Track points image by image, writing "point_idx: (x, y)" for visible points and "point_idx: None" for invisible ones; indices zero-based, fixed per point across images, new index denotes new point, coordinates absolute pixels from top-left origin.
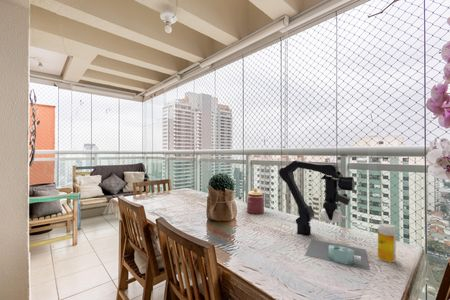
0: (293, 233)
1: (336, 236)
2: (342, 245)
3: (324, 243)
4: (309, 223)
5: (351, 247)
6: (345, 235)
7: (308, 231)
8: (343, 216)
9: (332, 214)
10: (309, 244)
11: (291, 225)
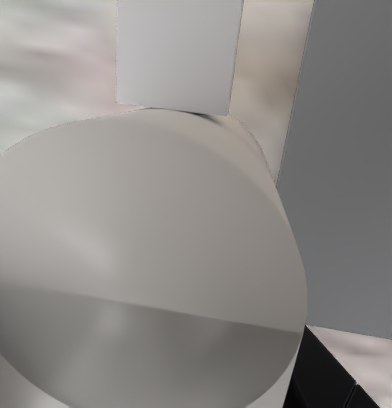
0: None
1: None
2: (307, 94)
3: (308, 234)
4: None
5: (331, 12)
6: (16, 39)
7: None
8: (182, 48)
9: (359, 399)
10: (360, 332)
11: None
